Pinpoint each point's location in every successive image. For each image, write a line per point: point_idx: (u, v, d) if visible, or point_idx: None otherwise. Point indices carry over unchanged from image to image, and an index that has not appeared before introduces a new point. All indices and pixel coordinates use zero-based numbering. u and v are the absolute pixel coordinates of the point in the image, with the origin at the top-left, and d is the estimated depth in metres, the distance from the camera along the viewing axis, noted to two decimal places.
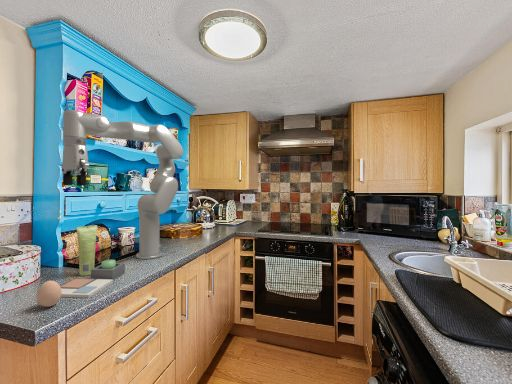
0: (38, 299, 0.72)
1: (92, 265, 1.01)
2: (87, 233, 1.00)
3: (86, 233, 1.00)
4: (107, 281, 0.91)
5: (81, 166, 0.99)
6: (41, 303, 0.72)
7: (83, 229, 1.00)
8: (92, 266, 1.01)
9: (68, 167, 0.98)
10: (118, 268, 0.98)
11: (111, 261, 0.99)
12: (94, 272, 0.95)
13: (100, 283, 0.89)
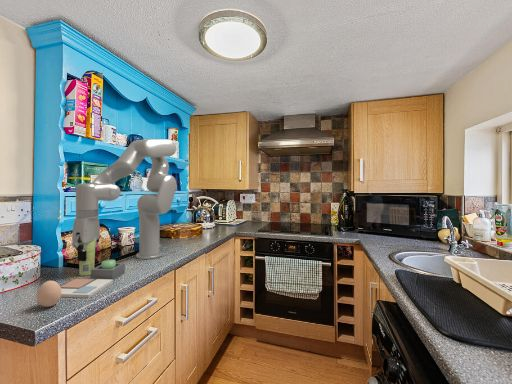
0: (38, 299, 0.72)
1: (92, 265, 1.01)
2: None
3: None
4: (107, 281, 0.91)
5: None
6: (41, 303, 0.72)
7: None
8: (92, 266, 1.01)
9: (92, 239, 1.01)
10: (118, 268, 0.98)
11: (111, 261, 0.99)
12: (94, 272, 0.95)
13: (100, 283, 0.89)
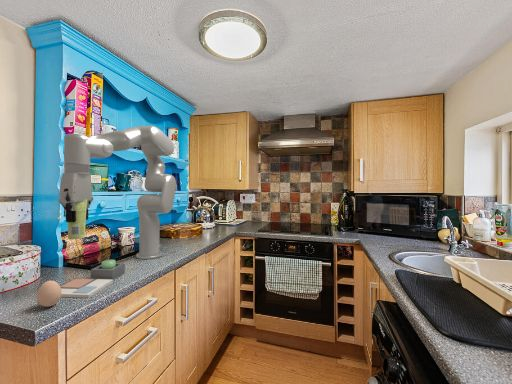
0: (38, 299, 0.72)
1: (82, 228, 0.89)
2: None
3: None
4: (107, 281, 0.91)
5: None
6: (41, 303, 0.72)
7: None
8: (82, 229, 0.89)
9: (83, 198, 0.89)
10: (118, 268, 0.98)
11: (111, 261, 0.99)
12: (94, 272, 0.95)
13: (100, 283, 0.89)
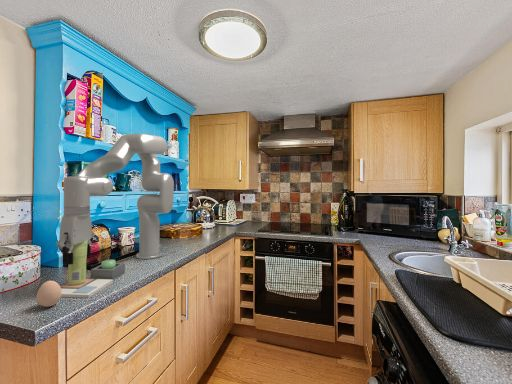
0: (38, 299, 0.72)
1: (83, 273, 0.89)
2: None
3: None
4: (107, 281, 0.91)
5: None
6: (41, 303, 0.72)
7: None
8: (83, 274, 0.89)
9: (82, 239, 0.89)
10: (118, 268, 0.98)
11: (111, 261, 0.99)
12: (94, 272, 0.95)
13: (100, 283, 0.89)
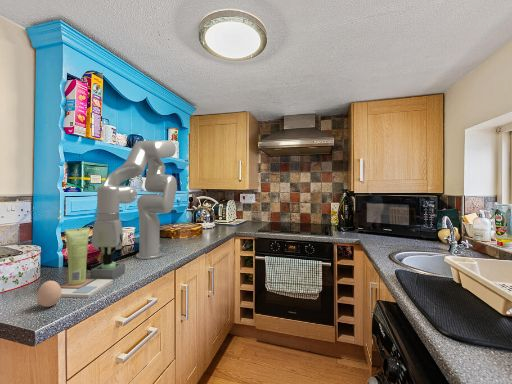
0: (38, 299, 0.72)
1: (83, 273, 0.89)
2: (78, 236, 0.89)
3: (76, 236, 0.88)
4: (107, 281, 0.91)
5: None
6: (41, 303, 0.72)
7: (72, 232, 0.88)
8: (83, 274, 0.89)
9: None
10: (118, 268, 0.98)
11: (111, 263, 0.99)
12: (94, 272, 0.95)
13: (100, 283, 0.89)
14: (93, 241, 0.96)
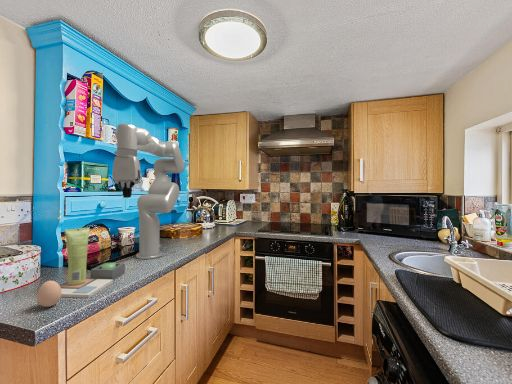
0: (38, 299, 0.72)
1: (83, 273, 0.89)
2: (78, 236, 0.89)
3: (76, 236, 0.88)
4: (107, 281, 0.91)
5: None
6: (41, 303, 0.72)
7: (72, 232, 0.88)
8: (83, 274, 0.89)
9: None
10: (118, 268, 0.98)
11: (111, 264, 0.99)
12: (94, 272, 0.95)
13: (100, 283, 0.89)
14: (114, 175, 1.03)
